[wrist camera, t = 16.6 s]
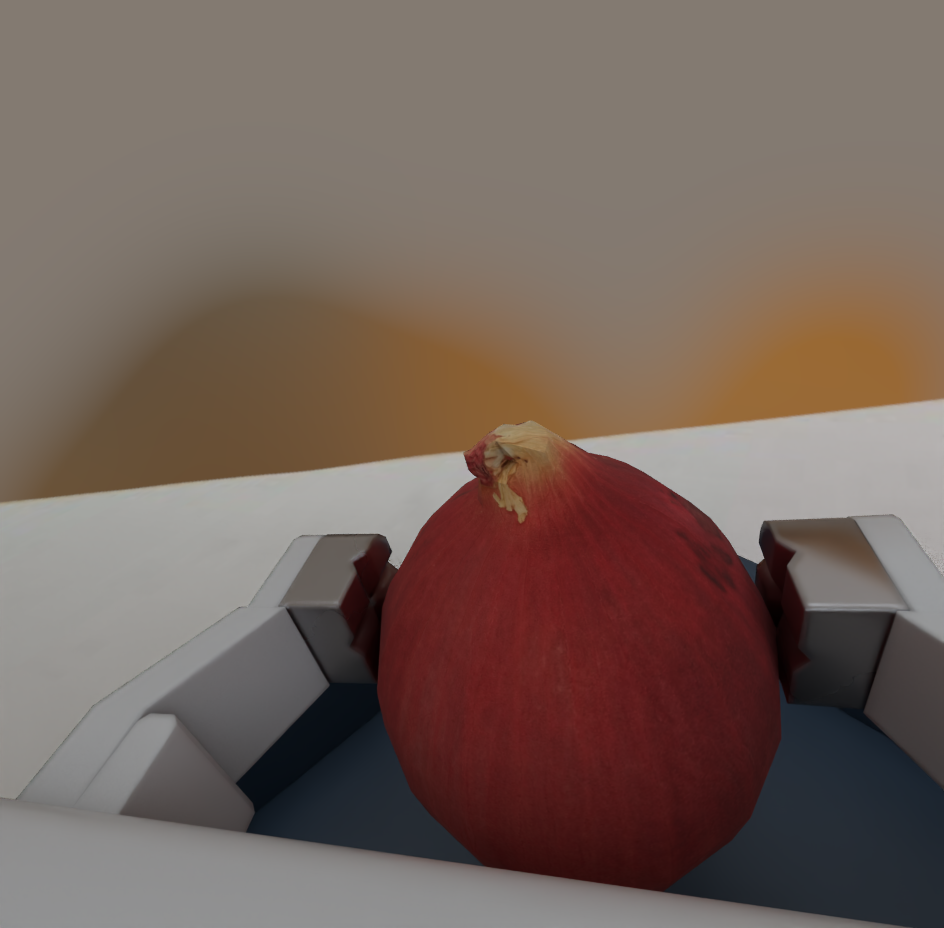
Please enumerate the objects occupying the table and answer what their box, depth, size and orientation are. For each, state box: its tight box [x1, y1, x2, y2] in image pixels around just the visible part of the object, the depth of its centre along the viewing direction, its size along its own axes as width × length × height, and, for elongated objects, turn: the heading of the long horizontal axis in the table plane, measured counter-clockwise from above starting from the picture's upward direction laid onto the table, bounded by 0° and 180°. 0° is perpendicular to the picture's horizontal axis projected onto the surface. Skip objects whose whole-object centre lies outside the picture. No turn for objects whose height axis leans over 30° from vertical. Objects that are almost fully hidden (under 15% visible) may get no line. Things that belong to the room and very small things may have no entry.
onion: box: [377, 421, 781, 892], centre depth 8 cm, size 6×6×8 cm
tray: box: [236, 555, 944, 928], centre depth 11 cm, size 15×15×4 cm
